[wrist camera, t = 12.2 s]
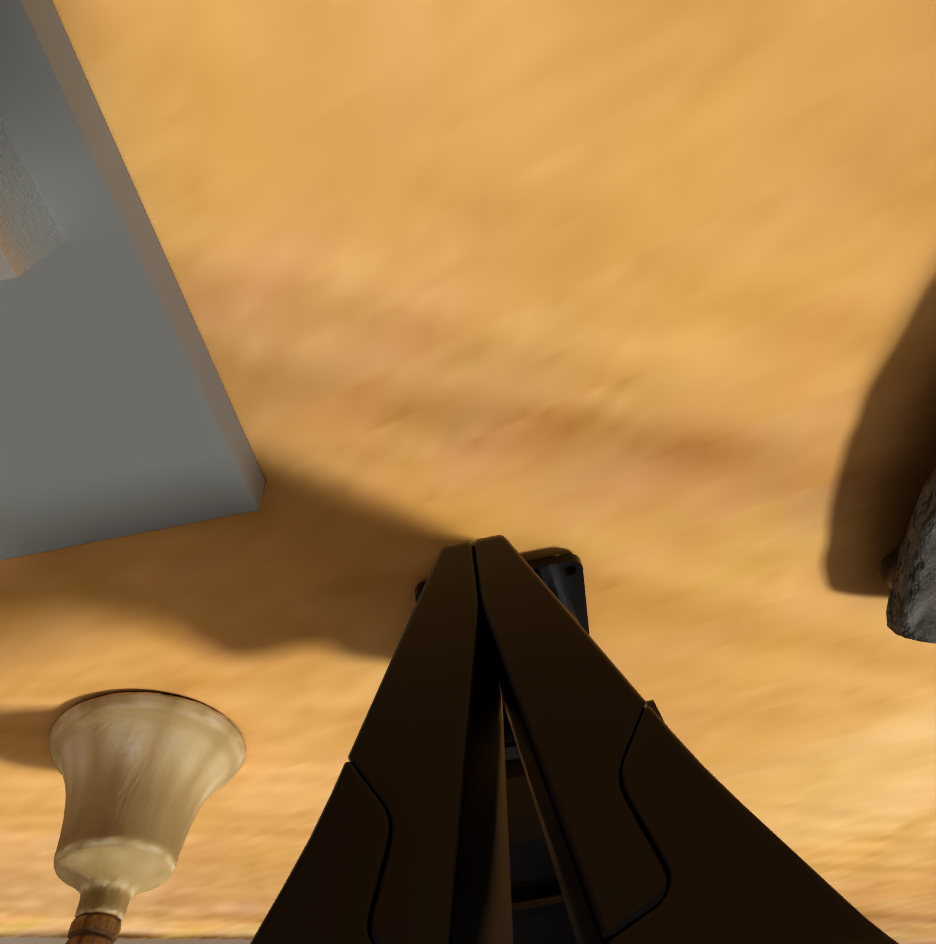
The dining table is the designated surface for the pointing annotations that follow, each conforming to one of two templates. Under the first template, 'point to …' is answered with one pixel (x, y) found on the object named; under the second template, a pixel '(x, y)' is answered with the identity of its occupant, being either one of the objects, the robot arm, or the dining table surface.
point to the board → (99, 335)
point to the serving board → (914, 572)
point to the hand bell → (133, 796)
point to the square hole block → (21, 215)
